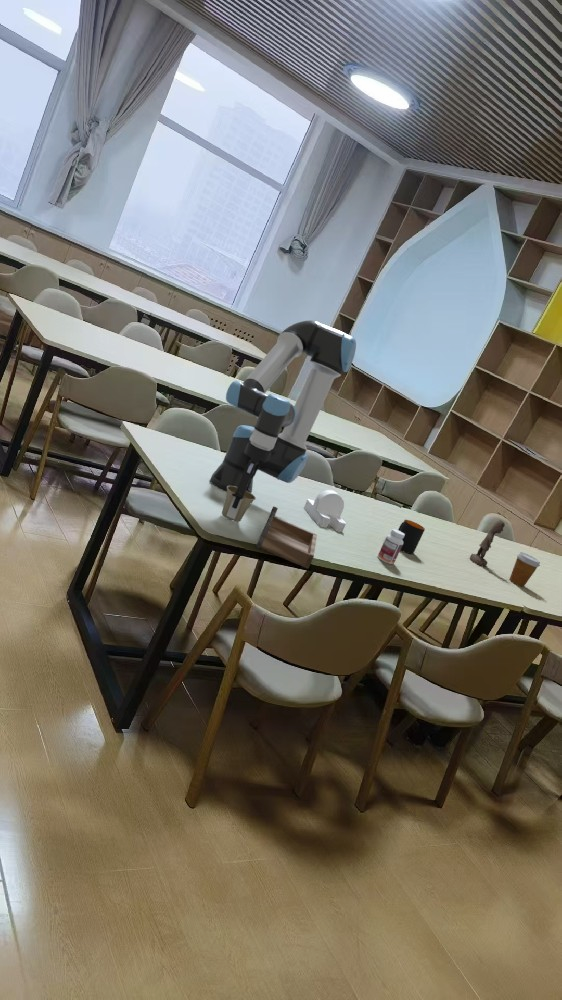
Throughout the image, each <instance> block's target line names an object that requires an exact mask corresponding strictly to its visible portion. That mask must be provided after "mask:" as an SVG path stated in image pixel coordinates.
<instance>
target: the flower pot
mask: <svg viewBox="0 0 562 1000" xmlns="http://www.w3.org/2000/svg"><path fill="white" fill-rule="evenodd" d="M237 488H238V487H235V486H227V492H225V493H226V495H225V499H224V502H223V506H222V511H221V515H222V517H224V518H226V519H227V520H229V521H234V522H236V523H239V522H241V521H242V519H243V517H244V516H245V514H246V512H247V510H248V509H249V507H250V506H251V504H252V503H253V502H254V501H255V500H257V499H256V496H255V495H254V494H253V493H252V492H251V493H250V492H248V491H245V494H244V496H243V500H242V502H241V505H240V507H239V510H238V512H237V515H236V517H235V519H233V518H230V517H228V516H226V515H227V512H228V510H229V507H230V505H231V502H232V500H233V497H234V496H232V494H233V493H234V494H235V493H236V490H237ZM239 494H241V493H239Z"/></svg>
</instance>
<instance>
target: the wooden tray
mask: <svg viewBox="0 0 562 1000" xmlns="http://www.w3.org/2000/svg"><path fill="white" fill-rule="evenodd" d="M278 509H279V508H278V507H276V506H272V509H271V510H270V513H269V515H268V517H267V519H266V522H265V524H264V527H263V529H262V531H261V533H260V536H259V539H258V541H257V544H256V545H255V546H256V548H257V549H260V550H263V551H264V552H267V553H270V554H272V555H274V556H277V557H279V558H282V559H283V560H286V561H289V562H290V563H294V564H295V565H299V566H301V567H303V568H305V569H307V570H308V569H309V568H310V566H311V564H312V561H313V560H314V557H315V551H316V544H317V538H318V534H316V533H314V532H311V531H309V530H307V529H304V528H302V527H299V526H297V525H294V524H292V523H290V522H288V521H286V520H283V519H281V518H278V517H276V514H277V511H278Z"/></svg>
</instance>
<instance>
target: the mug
mask: <svg viewBox="0 0 562 1000" xmlns="http://www.w3.org/2000/svg"><path fill="white" fill-rule="evenodd" d="M397 530H399V531H401V532H402V533H404V534H405V536H404V538H403V539H402V540H403V545H402V548H401V550H400V552H403V553H406V554H409V555H413V554H414V553H415V551H416V549H417V547H418V545H419V543H420V541H421V538H422V536H423V535H424V532H425V530H426V529H425V527H424V526H422V525H421V524H419V523H417V522H414V521H412V520H409V519H404V520H403V522H402V523H401V524H400V525H399V527H398V529H397Z"/></svg>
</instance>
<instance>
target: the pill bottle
mask: <svg viewBox="0 0 562 1000" xmlns="http://www.w3.org/2000/svg"><path fill="white" fill-rule="evenodd" d="M404 536H405V534H404V533H402V532H401V531H399V530H398V529H396V528H392V529H391V531H390V534H388V535H386V536H385V538H384V540H383V543H382V546H381V547H380V550H379V552H378V554H377V558H378V560H380V561H381V562H383V563H386V564H389V565H394V564H395V563H396V561H397V559H398V556H399V554H400V552H401V548H402V545H403V540H402V539H403V538H404Z"/></svg>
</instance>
